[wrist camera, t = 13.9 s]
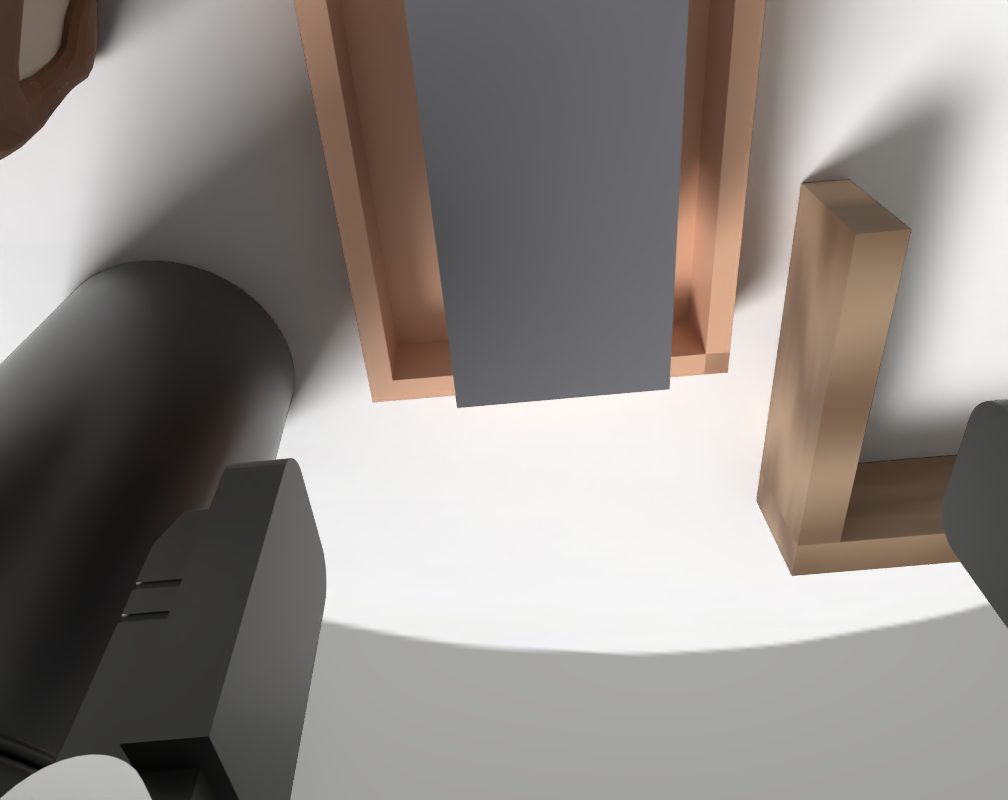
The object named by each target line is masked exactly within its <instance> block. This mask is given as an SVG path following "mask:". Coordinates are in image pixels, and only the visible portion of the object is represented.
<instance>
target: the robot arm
mask: <svg viewBox="0 0 1008 800" xmlns="http://www.w3.org/2000/svg"><path fill="white" fill-rule="evenodd" d="M942 521H943V527H944V531H945V535H946V538H947V540H948V543H949V545H950V547H951V549H952V550H953V552H954V554H955V555H956V556H957V558H958V559H959V561H960V562H961V563H962V565H963V566H964V568H965V569H966V570H967V572H968V573H969V575H970V576H971V577H972V579H973V580H974V582H975V583H976V584H977V586H978V587H979V589H980V590H981V591H982V593H983V594H984V596H985V597H986V598H987V600H988V601H989V603H990V604H991V605H992V607H993V608H994V610H995V611H996V612H997V614H998V615H999V617H1000V618H1001V619H1002V621H1003V622H1004V623H1005V625H1006V626H1007V628H1008V400H996V401H986V402H983V403H981V404H979V405H978V406H977V407H976V408H975V409H974V410H973V412H972V414H971V416H970V418H969V421H968V424H967V427H966V430H965V434H964V437H963V440H962V443H961V446H960V449H959V452H958V455H957V458H956V462H955V465H954V468H953V471H952V474H951V477H950V480H949V483H948V486H947V489H946V493H945V496H944V499H943V505H942ZM325 598H326V567H325V559H324V553H323V549H322V545H321V541H320V538H319V534H318V531H317V527H316V523H315V520H314V516H313V512H312V509H311V505H310V502H309V498H308V494H307V491H306V487H305V483H304V480H303V476H302V473H301V470H300V467H299V465H298V463H297V461H296V460H295V459H293V458H289V459H277V460H266V461H254V462H242V463H231V464H229V465H227V466H226V468H225V469H224V471H223V473H222V476H221V479H220V481H219V484H218V487H217V489H216V492H215V494H214V497H213V500H212V502H211V505H210V507H209V509H203V510H191V511H184V512H183V514H182V515H181V516H180V517H179V518H178V519H177V520H176V521H175V522H174V523H173V524H172V525H171V526H170V527H169V528H168V529H167V530H166V531H165V532H164V533H163V534H162V535H161V536H160V538H159V539H158V540H157V541H156V542H155V543H154V544H153V545H152V547H151V549H150V552H149V554H148V556H147V558H146V561H145V563H144V565H143V567H142V570H141V572H140V574H139V576H138V579H137V581H136V590H132V592H131V594H130V597H129V599H128V601H127V603H126V606H125V608H124V610H123V612H122V622H121V623H118V624H117V626H116V628H115V630H114V633H113V635H112V637H111V640H110V642H109V644H108V646H107V649H106V651H105V653H104V655H103V658H102V660H101V662H100V664H99V667H98V669H97V671H96V673H95V676H94V678H93V680H92V682H91V685H90V687H89V689H88V691H87V694H86V696H85V698H84V700H83V703H82V705H81V707H80V709H79V712H78V714H77V716H76V718H75V721H74V723H73V725H72V727H71V730H70V732H69V734H68V736H67V739H66V741H65V743H64V745H63V748H62V750H61V752H60V753H59V755H58V757H57V759H56V761H55V763H54V764H52V765H49V766H47V767H45V768H43V769H41V770H39V771H37V772H36V773H34V774H32V775H30V776H29V777H27V778H26V779H24V780H23V781H21V782H20V783H19V784H17V785H16V786H14V787H13V788H12V789H11V790H10V791H8V792H7V793H6V794H5V795H4V796H3V797H1V798H0V800H290V797H291V791H292V785H293V780H294V774H295V769H296V763H297V757H298V752H299V746H300V740H301V735H302V729H303V724H304V718H305V712H306V707H307V701H308V695H309V690H310V684H311V679H312V673H313V667H314V662H315V656H316V650H317V644H318V639H319V633H320V628H321V622H322V617H323V611H324V605H325Z"/></svg>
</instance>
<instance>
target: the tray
mask: <svg viewBox="0 0 1008 800" xmlns="http://www.w3.org/2000/svg"><path fill="white" fill-rule="evenodd" d="M294 4H295V9H296V14H297V19H298V24H299V29H300V34H301V39H302V44H303V49H304V54H305V60H306V65H307V70H308V75H309V80H310V85H311V90H312V95H313V100H314V105H315V111H316V116H317V121H318V126H319V131H320V136H321V141H322V146H323V151H324V156H325V161H326V167H327V172H328V177H329V182H330V187H331V192H332V197H333V202H334V207H335V212H336V218H337V223H338V228H339V233H340V238H341V243H342V248H343V253H344V258H345V263H346V268H347V274H348V279H349V284H350V289H351V294H352V299H353V304H354V309H355V314H356V319H357V325H358V330H359V335H360V340H361V345H362V350H363V355H364V360H365V365H366V370H367V375H368V381H369V386H370V391H371V396H372V401H373V402H383V401H395V400H406V399H418V398H430V397H442V396H454V395H455V387H454V379H453V372H452V364H451V356H450V349H449V341H448V333H447V326H446V318H445V310H444V303H443V295H442V288H441V280H440V272H439V265H438V257H437V249H436V242H435V234H434V226H433V219H432V211H431V203H430V196H429V188H428V180H427V173H426V165H425V157H424V150H423V142H422V134H421V127H420V119H419V111H418V104H417V96H416V89H415V81H414V73H413V66H412V58H411V50H410V43H409V35H408V27H407V20H406V12H405V4H404V0H294ZM765 5H766V0H689V7H688V27H687V47H686V67H685V87H684V107H683V127H682V147H681V168H680V188H679V208H678V228H677V248H676V268H675V288H674V308H673V328H672V348H671V368H670V377H679V376H690V375H702V374H714V373H726V372H728V364H729V355H730V345H731V335H732V325H733V316H734V306H735V296H736V287H737V277H738V267H739V257H740V248H741V238H742V228H743V218H744V209H745V199H746V189H747V180H748V170H749V160H750V150H751V141H752V131H753V121H754V112H755V102H756V92H757V82H758V73H759V63H760V53H761V43H762V34H763V24H764V14H765Z"/></svg>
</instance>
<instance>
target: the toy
mask: <svg viewBox="0 0 1008 800" xmlns="http://www.w3.org/2000/svg"><path fill="white" fill-rule="evenodd" d="M97 43H98V23H97V0H0V160H1V159H3V158H5V157H7V156H8V155H10V154H11V153H13V152H14V151H16V150H18V149H19V148H21V147H22V146H23V145H24V144H25V143H26V142H27V141H28V140H29V139H30V138H32V137H33V136H34V135H35V134H36V133H37V132H38V131H39V130H40V129H41V128H42V127H43V126H44V125H45V123H46V122H47V120H48V119H49V117H50V116H51V115H52V113H53V112H54V110H55V109H56V108H57V107H58V105H59V104H60V103H61V102H62V100H63V99H64V98H65V97H66V96H67V94H68V93H69V92H70V91H71V90H72V89H73V88H74V87H75V86H77V85H78V84H79V83H81V82H82V81H84V80H85V79H86V78H88V76H89V74H90V72H91V70H92V68H93V64H94V59H95V54H96V48H97Z"/></svg>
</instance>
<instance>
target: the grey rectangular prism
mask: <svg viewBox="0 0 1008 800" xmlns="http://www.w3.org/2000/svg"><path fill="white" fill-rule="evenodd" d="M404 4H405V12H406V20H407V27H408V35H409V43H410V50H411V58H412V66H413V73H414V81H415V89H416V96H417V104H418V111H419V119H420V127H421V134H422V142H423V150H424V157H425V165H426V173H427V180H428V188H429V196H430V203H431V211H432V219H433V226H434V234H435V242H436V249H437V257H438V265H439V272H440V280H441V288H442V295H443V303H444V310H445V318H446V326H447V333H448V341H449V349H450V356H451V364H452V372H453V379H454V387H455V395H456V402H457V408H461V407H473V406H484V405H495V404H507V403H518V402H529V401H541V400H552V399H563V398H575V397H586V396H597V395H609V394H620V393H631V392H643V391H654V390H665V389H669V388H670V368H671V348H672V328H673V308H674V288H675V268H676V248H677V228H678V208H679V188H680V168H681V147H682V127H683V107H684V87H685V67H686V47H687V27H688V7H689V0H404Z"/></svg>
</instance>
